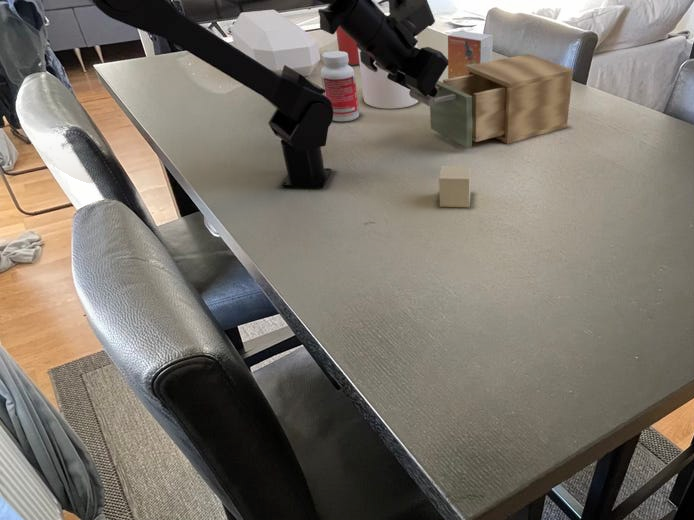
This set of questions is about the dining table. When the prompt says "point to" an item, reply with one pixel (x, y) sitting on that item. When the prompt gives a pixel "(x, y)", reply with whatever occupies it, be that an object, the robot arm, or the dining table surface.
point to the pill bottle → (340, 85)
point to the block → (454, 186)
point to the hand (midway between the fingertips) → (434, 94)
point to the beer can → (348, 46)
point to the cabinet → (530, 94)
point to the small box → (467, 51)
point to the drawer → (467, 108)
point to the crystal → (275, 42)
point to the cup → (383, 89)
